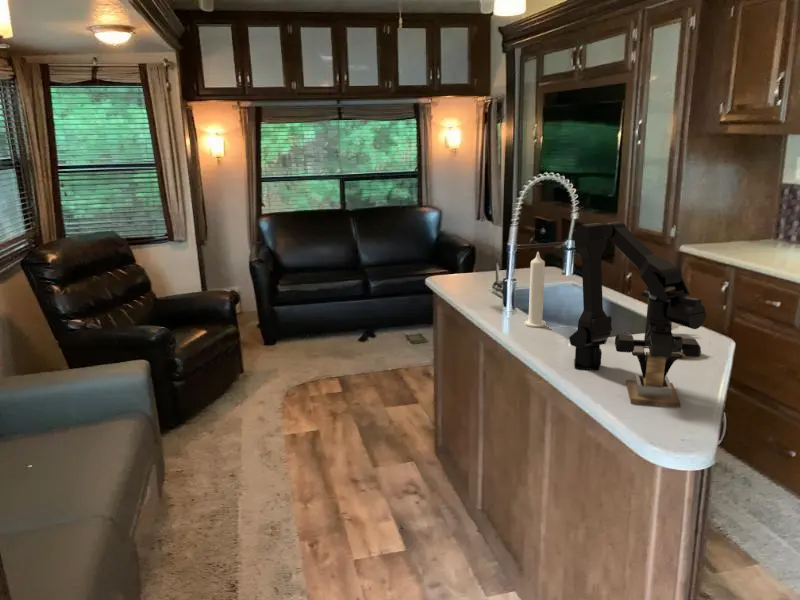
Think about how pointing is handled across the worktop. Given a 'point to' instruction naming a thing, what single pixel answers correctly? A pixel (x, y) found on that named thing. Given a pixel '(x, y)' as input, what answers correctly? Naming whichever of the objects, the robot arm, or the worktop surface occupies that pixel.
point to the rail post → (654, 370)
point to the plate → (648, 400)
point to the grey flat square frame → (652, 388)
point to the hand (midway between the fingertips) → (653, 378)
